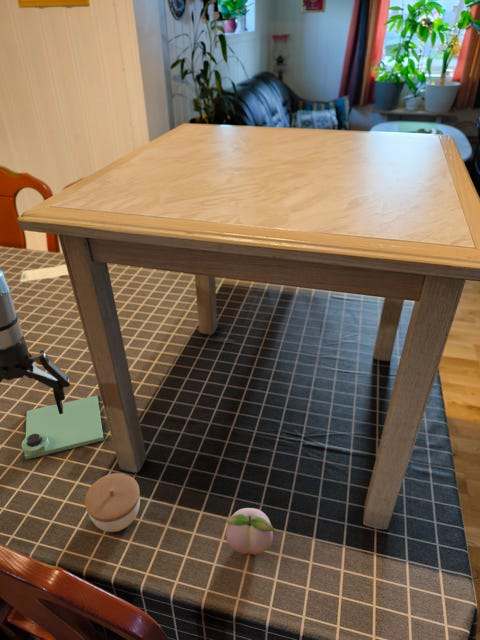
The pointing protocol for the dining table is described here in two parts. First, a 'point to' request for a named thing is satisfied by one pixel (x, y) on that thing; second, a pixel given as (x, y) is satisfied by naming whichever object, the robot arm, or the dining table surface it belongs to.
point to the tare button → (34, 440)
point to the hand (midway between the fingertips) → (29, 416)
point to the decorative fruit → (249, 531)
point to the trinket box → (113, 502)
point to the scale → (63, 427)
